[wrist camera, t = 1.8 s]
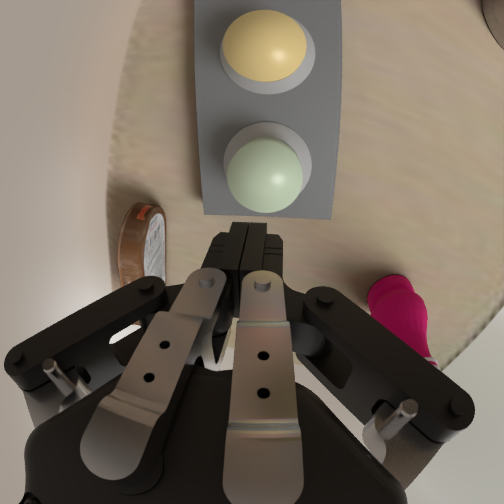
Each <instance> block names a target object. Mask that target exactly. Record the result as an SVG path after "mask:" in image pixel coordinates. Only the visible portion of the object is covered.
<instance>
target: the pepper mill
mask: <svg viewBox="0 0 504 504" xmlns="http://www.w3.org/2000/svg"><path fill="white" fill-rule="evenodd" d="M367 301H368V305H369V308H370V311H371V315H370V316H372V317H373V318H374V319H375V320H377V321H378V322H379V323H381V324H382V325H383V326H384V327H386V328H387V329H388V330H390V331H391V332H392V333H393V334H395V335H396V336H397V337H398V338H400V339H401V340H402V341H404V342H405V343H406V344H407V345H409V346H410V347H411V348H412V349H414V350H415V351H416V352H417V353H419V354H420V355H421V356H422V357H424V358H425V359H426V360H427V361H429V362H430V363H431V364H432V365H434V366H435V367H436V368H437V369H439V370H440V368H439V367H438V361H437V360H436V359H435V358H432V357H431V355H430V352H429V349H428V345H427V338H426V332H427V320H428V317H427V310H426V307H425V304H424V301H423V299H422V298H421V297H420V296H419V295H418V294H416V293H415V292H414V289H413V287H412V285H411V283H410V281H409V280H408V279H407V278H405V277H404V276H401V275H391V276H387V277H384V278H382V279H381V280H379V281H377V282H376V283H375V284H374V285H373V286H372V288H371V289H370V291H369V293H368V297H367Z"/></svg>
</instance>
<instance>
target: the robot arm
mask: <svg viewBox="0 0 504 504" xmlns="http://www.w3.org/2000/svg"><path fill="white" fill-rule="evenodd" d="M482 8H483V12H484V16H485V19H486V22H487V24H488V26H489V28H490V31H491V32H492V34H493V36H494V37H495V39H496V40H497V42H498V43H499V45H500V46H501V47H502V48H503V49H504V0H482ZM282 273H283V240H282V239H281V238H280V236H279V235H277V234H267V223H253V222H250V224H249V222H232V225H231V228H230V231H229V233H227V232H220V233H219V234H218V235H217V236H215V237H214V238H213V240H212V242H211V246H210V247H209V250H208V252H207V254H206V257H205V259H204V262H203V264H202V266H201V269H198V270H196V271H194V272H192V273H191V274H190V275H189V277H188V278H187V280H186V282H185V283H184V284H180V285H173V286H165V282H164V280H163V279H161V278H160V277H157V276H144V277H141V278H139V279H137V280H135V281H133V282H131V283H129V284H127V285H125V286H123V287H121V288H119V289H117V290H116V291H114V292H112V293H110V294H108V295H106V296H104V297H102V298H101V299H99V300H97V301H95V302H93V303H91V304H89V305H88V306H86V307H84V308H82V309H80V310H78V311H77V312H75V313H73V314H71V315H69V316H67V317H66V318H64V319H62V320H60V321H58V322H57V323H55V324H53V325H51V326H50V327H48V328H46V329H44V330H42V331H41V332H39V333H37V334H35V335H34V336H32V337H30V338H28V339H27V340H25V341H23V342H22V343H20V344H18V345H16V346H15V347H13V348H12V349H11V350H10V351H9V352H8V354H7V355H6V358H5V362H4V368H5V371H6V372H7V374H8V375H9V376H10V377H11V378H12V379H13V380H14V381H15V382H16V383H17V385H18V386H19V388H20V389H21V390H22V391H23V393H24V396H25V400H26V403H27V406H28V409H29V413H30V415H31V418H32V421H33V424H34V427H35V429H34V430H33V431H32V433H31V434H30V436H29V438H28V440H27V442H26V446H25V452H24V458H25V471H26V485H25V493H24V497H23V499H22V500H21V502H20V503H19V504H407V497H406V493H405V491H404V490H405V489H406V488H407V487H408V486H409V485H410V484H411V483H412V482H413V481H414V479H415V478H416V477H417V476H418V475H419V474H420V473H421V471H422V470H423V469H424V468H425V467H426V465H427V464H428V463H429V462H430V460H431V459H432V458H433V457H434V456H435V454H436V453H437V452H438V450H439V449H440V448H441V446H442V445H444V444H445V443H447V442H448V441H450V440H451V439H452V438H454V437H455V436H456V435H458V434H459V433H460V432H462V431H463V430H464V429H465V428H467V427H468V426H469V425H470V424H471V422H472V421H473V418H474V414H475V406H474V403H473V400H472V398H471V397H470V395H469V394H468V393H467V392H466V391H464V390H463V389H462V388H460V386H458V385H457V384H456V383H454V382H453V381H452V380H451V379H450V378H449V377H447V376H446V375H445V374H443V373H442V372H441V371H440V370H439V369H437V368H436V367H435V366H434V365H432V364H431V363H430V362H429V361H427V360H426V359H425V358H424V357H422V356H421V355H420V354H419V353H417V352H416V351H415V350H414V349H412V348H411V347H410V346H409V345H407V344H406V343H405V342H404V341H402V340H401V339H400V338H398V337H397V336H396V335H395V334H393V333H392V332H391V331H390V330H388V329H387V328H386V327H384V326H383V325H382V324H381V323H379V322H378V321H377V320H375V319H374V318H373V317H372V316H370V315H369V314H368V313H366V312H365V311H364V310H362V309H361V308H360V307H359V306H357V305H356V304H355V303H353V302H352V301H351V300H349V299H348V298H347V297H346V296H344V295H343V294H342V293H340V292H339V291H337V290H335V289H333V288H330V287H324V286H320V287H315V288H312V289H310V290H308V291H307V292H306V294H304V293H300V292H297V291H294V290H292V289H291V288H289V287H288V286H287V285H286V284H285V283H284V281H283V277H282ZM233 317H235V318H239V321H237V326H236V338H235V350H234V362H233V369H232V370H223V371H219V370H220V367H221V363H222V360H223V357H224V354H225V350H226V347H227V344H228V341H229V337H230V334H231V324H232V319H233ZM137 321H139V323H140V326H141V328H140V329H138V330H136V331H134V332H133V333H131V334H129V335H128V336H126V337H124V338H122V339H121V340H119V341H117V342H116V343H113V344H109V341H110V338H111V337H112V336H113V335H114V334H116V333H118V332H119V331H121V330H123V329H125V328H126V327H128V326H130V325H132V324H133V323H135V322H137ZM292 351H293V352H296V356H297V358H298V359H299V361H300V362H301V363H302V364H303V365H304V366H305V367H306V368H307V369H308V370H309V371H310V372H311V373H312V374H313V375H314V376H315V377H316V378H317V379H318V380H319V381H320V382H321V383H322V384H323V385H324V386H325V387H326V388H327V389H328V390H329V391H330V392H331V393H332V394H333V395H334V396H335V397H336V398H337V399H338V400H339V401H340V402H341V403H342V404H343V405H344V406H345V407H346V408H347V409H348V410H349V411H350V412H351V413H352V414H353V415H354V416H355V417H356V418H357V419H358V420H359V421H360V422H362V423H363V424H364V425H365V426H364V428H363V434H362V436H363V441H364V443H365V445H366V446H367V447H368V449H369V450H370V452H371V453H370V452H369V451H368V450H367V449H366V448H365V447H364V446H363V445H362V443H360V441H359V440H358V439H357V438H356V437H355V436H354V435H353V434H352V433H351V432H350V431H349V430H348V429H347V428H346V426H345V425H344V424H343V423H342V422H341V421H340V420H339V419H338V418H337V417H336V416H335V415H334V413H333V412H332V411H331V410H330V409H329V408H328V407H327V406H326V405H325V404H324V402H323V401H322V400H321V399H320V398H319V397H318V396H317V395H316V394H315V393H313V392H312V391H311V390H309V389H308V388H306V387H304V386H303V385H301V384H298V383H296V382H295V375H294V364H293V352H292Z"/></svg>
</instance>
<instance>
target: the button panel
mask: <svg viewBox="0 0 504 504" xmlns="http://www.w3.org/2000/svg"><path fill="white" fill-rule="evenodd" d="M256 10H273V11H277V12H280V13H283V14H285V15H287V16H289V17H290V18H292V19H293V20H294V21H295V22H296V23H297V24H298V25H299V26H300V27H301V29H302V31H303V32H304V35H305V38H306V45H307V47H306V54H305V57H304V59H303V61H302V63H301V64H300V66H299V67H298V69H297V70H296V71H295V72H294V73H293V74H291V75H290V76H289V77H287V78H285V79H282V80H280V81H276V82H258V81H254V80H251V79H248V78H246V77H244V76H242V75H240V74H239V73H237V72H236V71H235V70H234V69H233V68H232V67H231V66H230V65H229V63H228V62H227V60H226V58H225V55H224V52H223V39H224V36H225V33H226V31H227V29H228V27H229V26H230V25H231V24H232V23H233V22H234V21H235V20H236V19H237V18H238V17H240V16H242V15H244V14H246V13H248V12H252V11H256ZM194 58H195V90H196V112H197V130H198V146H199V160H200V173H201V185H202V197H203V208H204V215H239V216H267V217H289V218H308V219H325V220H331V212H332V204H333V196H334V187H335V177H336V167H337V156H338V143H339V129H340V112H341V88H342V19H341V0H194ZM262 136H270V137H275V138H278V139H281V140H283V141H285V142H286V143H288V144H289V145H290V146H291V147H292V148H293V149H294V150H295V152H296V153H297V155H298V157H299V160H300V164H301V168H302V174H303V182H302V187H301V190H300V193H299V195H298V196H297V198H296V199H295V200H294V201H293V202H292V203H291V204H290V205H289V206H287V207H286V208H284V209H282V210H279V211H276V212H271V213H261V212H255V211H252V210H250V209H248V208H246V207H244V206H243V205H241V204H240V203H239V202H238V201H237V200H236V199H235V198H234V196H233V195H232V193H231V192H230V189H229V187H228V183H227V170H228V166H229V163H230V161H231V159H232V158H233V156H234V155H235V154H236V152H237V151H238V149H239V148H240V147H241V146H242V145H243V144H244V143H246V142H247V141H249V140H251V139H253V138H257V137H262Z"/></svg>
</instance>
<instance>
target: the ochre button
mask: <svg viewBox="0 0 504 504" xmlns="http://www.w3.org/2000/svg"><path fill="white" fill-rule="evenodd" d="M306 47H307V45H306V38H305V35H304V32H303V31H302V29H301V27H300V26H299V25H298V24H297V23H296V22H295V21H294V20H293V19H292V18H290V17H289V16H287V15H285V14H283V13H280V12H277V11H273V10H256V11H252V12H248V13H246V14H244V15H242V16H240V17H238V18H237V19H236V20H235V21H234V22H233V23H232V24H231V25H230V26H229V27H228V29H227V31H226V33H225V36H224V39H223V52H224V55H225V58H226V60H227V62H228V63H229V65H230V66H231V67H232V68H233V69H234V70H235V71H236V72H237V73H239V74H240V75H242V76H244V77H246V78H248V79H251V80H254V81H258V82H276V81H280V80H282V79H285V78H287V77H289V76H290V75H291V74H293V73H294V72H295V71H296V70H297V69H298V67H299V66H300V64H301V63H302V61H303V59H304V57H305V54H306Z"/></svg>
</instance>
